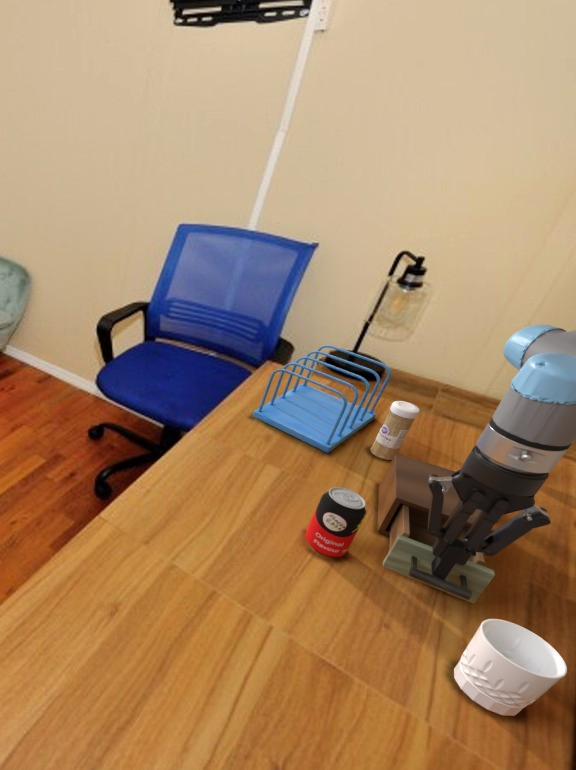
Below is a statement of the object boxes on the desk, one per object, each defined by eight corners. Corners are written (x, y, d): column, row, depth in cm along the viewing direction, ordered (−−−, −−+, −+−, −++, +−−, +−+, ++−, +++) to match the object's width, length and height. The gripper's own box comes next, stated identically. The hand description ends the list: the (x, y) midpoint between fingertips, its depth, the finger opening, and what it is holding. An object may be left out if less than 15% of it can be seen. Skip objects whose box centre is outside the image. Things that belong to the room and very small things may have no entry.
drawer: (477, 625, 78) (499, 596, 75) (382, 584, 85) (398, 556, 81) (465, 546, 91) (483, 518, 88) (383, 516, 98) (398, 489, 95)
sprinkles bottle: (364, 449, 117) (387, 401, 111) (381, 447, 118) (405, 398, 111) (383, 462, 113) (408, 412, 107) (400, 459, 114) (426, 410, 107)
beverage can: (296, 532, 96) (316, 484, 90) (329, 532, 96) (353, 484, 90) (317, 560, 90) (341, 510, 85) (353, 560, 90) (379, 511, 85)
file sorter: (327, 454, 116) (351, 398, 108) (251, 417, 129) (268, 365, 122) (374, 419, 127) (399, 366, 120) (300, 388, 140) (318, 339, 133)
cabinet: (469, 567, 88) (494, 531, 84) (377, 532, 96) (395, 497, 92) (461, 513, 99) (483, 479, 95) (378, 485, 107) (395, 452, 102)
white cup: (507, 732, 66) (549, 689, 62) (435, 675, 73) (468, 632, 68) (537, 705, 69) (579, 662, 64) (465, 653, 75) (498, 610, 71)
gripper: (450, 454, 72) (385, 566, 83) (588, 494, 64) (497, 611, 75) (446, 428, 77) (386, 537, 88) (574, 462, 69) (491, 577, 80)
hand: (437, 571), depth 81 cm, fingers closed
